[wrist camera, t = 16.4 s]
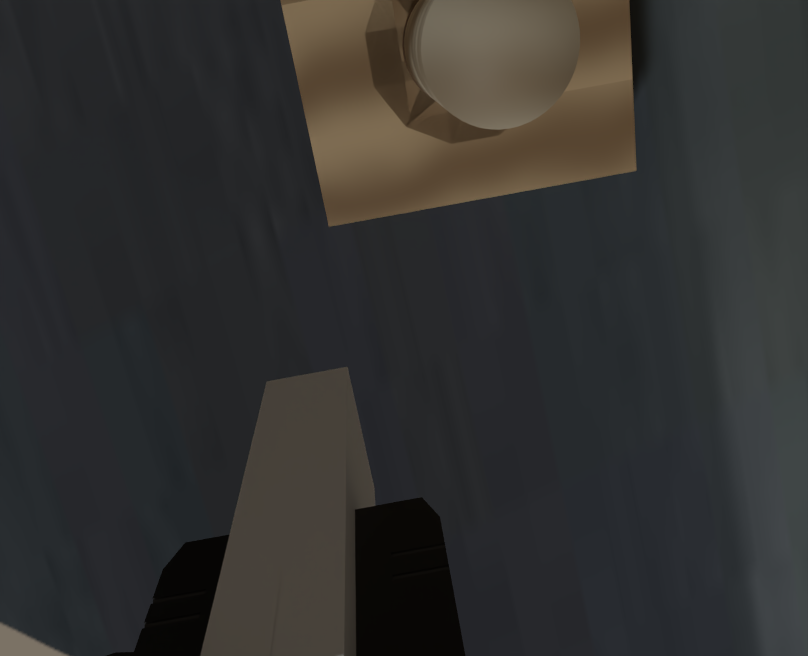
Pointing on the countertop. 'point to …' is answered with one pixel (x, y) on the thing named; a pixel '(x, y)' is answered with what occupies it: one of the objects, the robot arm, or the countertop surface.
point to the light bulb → (492, 56)
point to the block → (447, 115)
